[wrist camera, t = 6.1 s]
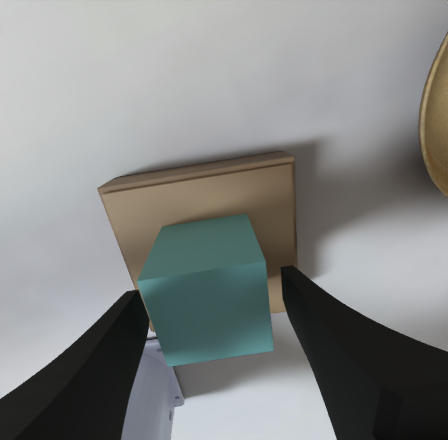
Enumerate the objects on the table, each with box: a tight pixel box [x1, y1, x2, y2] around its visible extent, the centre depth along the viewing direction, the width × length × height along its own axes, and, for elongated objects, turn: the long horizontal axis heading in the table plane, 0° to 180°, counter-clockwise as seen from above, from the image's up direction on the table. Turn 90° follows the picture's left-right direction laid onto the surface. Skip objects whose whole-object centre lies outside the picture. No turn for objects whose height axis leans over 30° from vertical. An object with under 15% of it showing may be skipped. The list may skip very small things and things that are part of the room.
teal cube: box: [137, 213, 274, 367], centre depth 12 cm, size 5×5×5 cm
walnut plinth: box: [97, 151, 297, 332], centre depth 16 cm, size 11×11×3 cm
